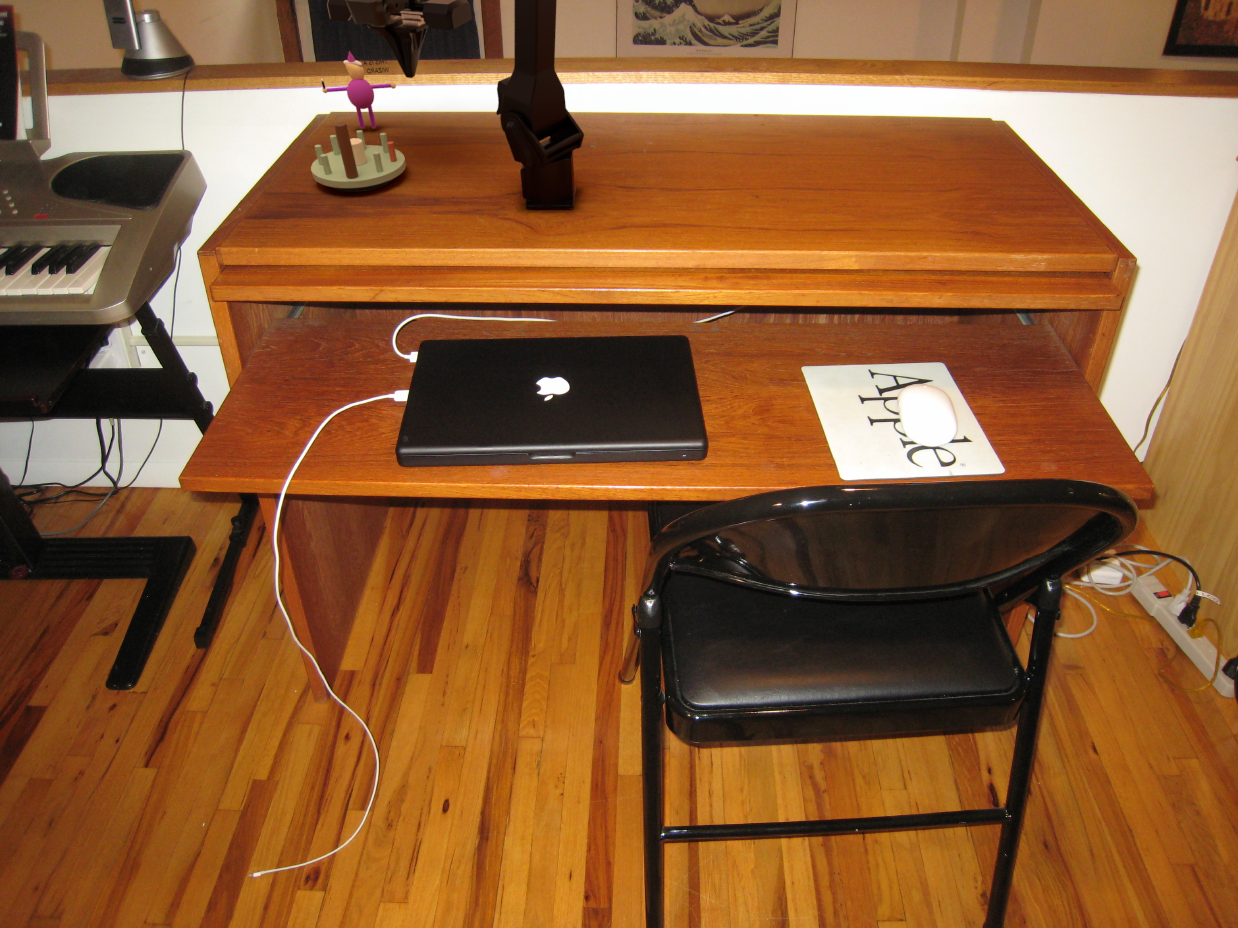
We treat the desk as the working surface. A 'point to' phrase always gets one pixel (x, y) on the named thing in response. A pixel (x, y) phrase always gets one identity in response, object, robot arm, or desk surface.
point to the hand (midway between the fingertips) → (410, 77)
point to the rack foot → (363, 187)
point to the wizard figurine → (360, 88)
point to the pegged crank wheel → (356, 161)
